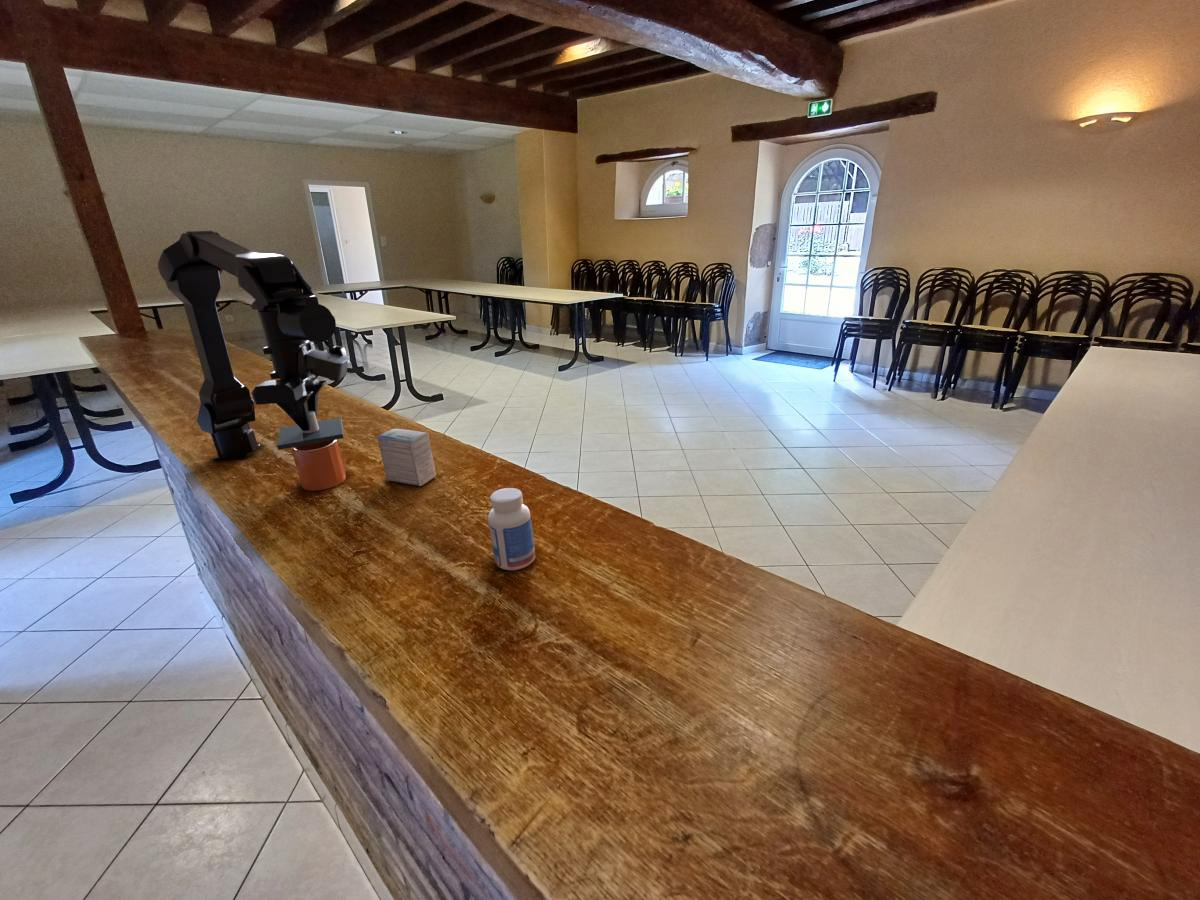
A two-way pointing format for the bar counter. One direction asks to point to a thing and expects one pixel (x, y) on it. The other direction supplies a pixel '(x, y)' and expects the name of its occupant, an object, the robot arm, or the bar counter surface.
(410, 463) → the stack of paper cards
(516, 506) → the pill bottle
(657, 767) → the bar counter surface
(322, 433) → the grey lid with knob
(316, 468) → the cup
